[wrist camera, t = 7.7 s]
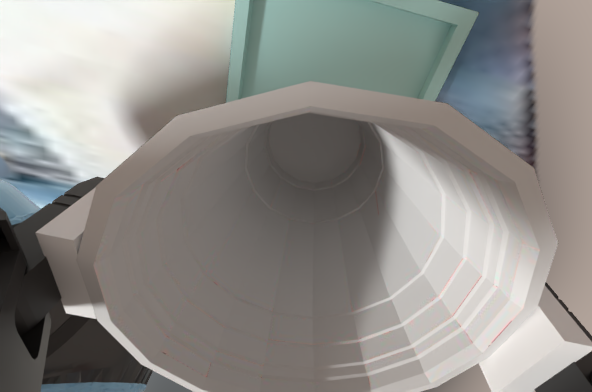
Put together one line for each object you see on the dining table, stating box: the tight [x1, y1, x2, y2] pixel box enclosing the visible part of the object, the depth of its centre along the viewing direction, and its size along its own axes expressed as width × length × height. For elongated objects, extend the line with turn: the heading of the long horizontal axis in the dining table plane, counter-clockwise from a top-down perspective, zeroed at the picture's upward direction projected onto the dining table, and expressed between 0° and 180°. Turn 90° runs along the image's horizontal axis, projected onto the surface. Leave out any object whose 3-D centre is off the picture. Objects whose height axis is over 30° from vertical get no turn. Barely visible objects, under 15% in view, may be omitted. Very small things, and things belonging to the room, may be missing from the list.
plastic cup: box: [76, 81, 558, 392], centre depth 12 cm, size 11×11×12 cm
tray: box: [226, 0, 479, 103], centre depth 29 cm, size 20×20×2 cm
